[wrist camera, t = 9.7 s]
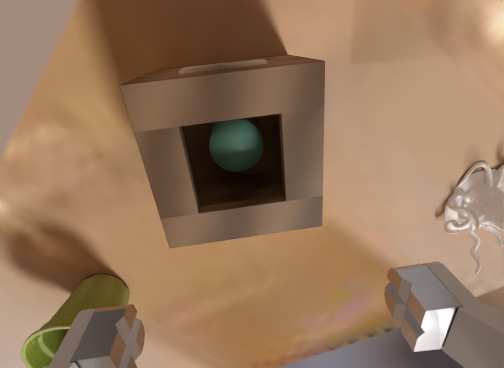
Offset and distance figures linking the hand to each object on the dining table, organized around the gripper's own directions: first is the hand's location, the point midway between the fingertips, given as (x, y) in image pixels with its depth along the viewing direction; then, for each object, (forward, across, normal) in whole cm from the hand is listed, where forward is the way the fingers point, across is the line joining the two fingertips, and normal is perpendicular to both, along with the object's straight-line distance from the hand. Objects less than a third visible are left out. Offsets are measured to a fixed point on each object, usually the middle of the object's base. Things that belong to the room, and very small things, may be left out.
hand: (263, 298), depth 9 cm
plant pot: (+21, +20, +20) cm, 35 cm away
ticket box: (+21, +1, 0) cm, 21 cm away
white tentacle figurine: (+22, -29, +14) cm, 39 cm away
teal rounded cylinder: (+20, 0, 0) cm, 20 cm away
